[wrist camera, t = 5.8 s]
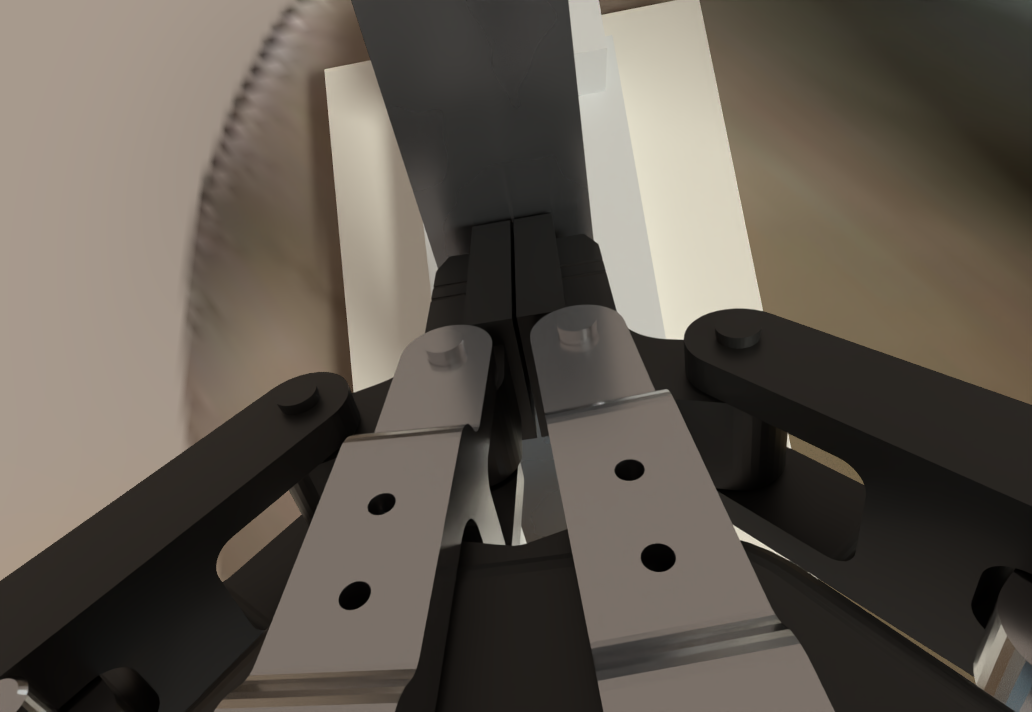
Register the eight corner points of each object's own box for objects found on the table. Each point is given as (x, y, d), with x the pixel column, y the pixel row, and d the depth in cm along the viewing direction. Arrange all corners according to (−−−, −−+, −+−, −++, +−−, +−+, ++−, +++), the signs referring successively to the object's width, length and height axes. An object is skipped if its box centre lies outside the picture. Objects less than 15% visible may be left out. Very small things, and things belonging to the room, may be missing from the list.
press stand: (691, 27, 29) (720, -103, 22) (810, 622, 25) (891, 680, 18) (341, 94, 31) (271, -9, 24) (396, 667, 26) (329, 737, 20)
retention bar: (545, -168, 9) (552, -152, 8) (621, 527, 22) (627, 560, 21) (331, -121, 9) (316, -102, 8) (532, 538, 22) (535, 572, 22)
